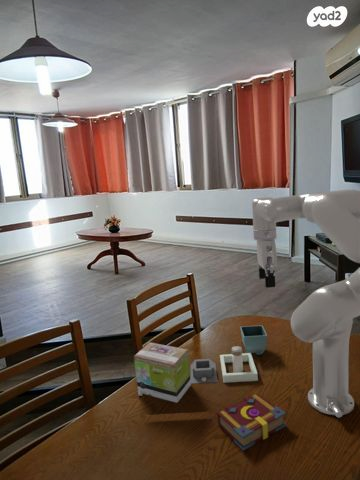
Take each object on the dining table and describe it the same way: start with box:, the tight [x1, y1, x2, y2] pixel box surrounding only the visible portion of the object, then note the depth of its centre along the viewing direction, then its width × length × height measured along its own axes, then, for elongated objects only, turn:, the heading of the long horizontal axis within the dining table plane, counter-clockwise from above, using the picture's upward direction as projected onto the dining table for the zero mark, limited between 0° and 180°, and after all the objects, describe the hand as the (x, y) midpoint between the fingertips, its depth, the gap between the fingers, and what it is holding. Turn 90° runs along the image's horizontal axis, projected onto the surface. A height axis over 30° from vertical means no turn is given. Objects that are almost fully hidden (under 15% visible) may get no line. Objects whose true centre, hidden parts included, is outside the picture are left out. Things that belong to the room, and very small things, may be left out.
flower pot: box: [239, 324, 268, 356], centre depth 134 cm, size 9×9×9 cm
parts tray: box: [219, 352, 259, 384], centre depth 121 cm, size 13×11×4 cm
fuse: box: [231, 345, 244, 373], centre depth 121 cm, size 4×4×9 cm
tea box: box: [133, 341, 192, 403], centre depth 114 cm, size 15×10×15 cm, turn 62°
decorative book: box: [217, 393, 287, 451], centre depth 97 cm, size 11×16×5 cm
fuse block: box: [190, 358, 218, 384], centre depth 122 cm, size 12×9×4 cm
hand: (266, 282), depth 122 cm, fingers open, 9 cm apart
